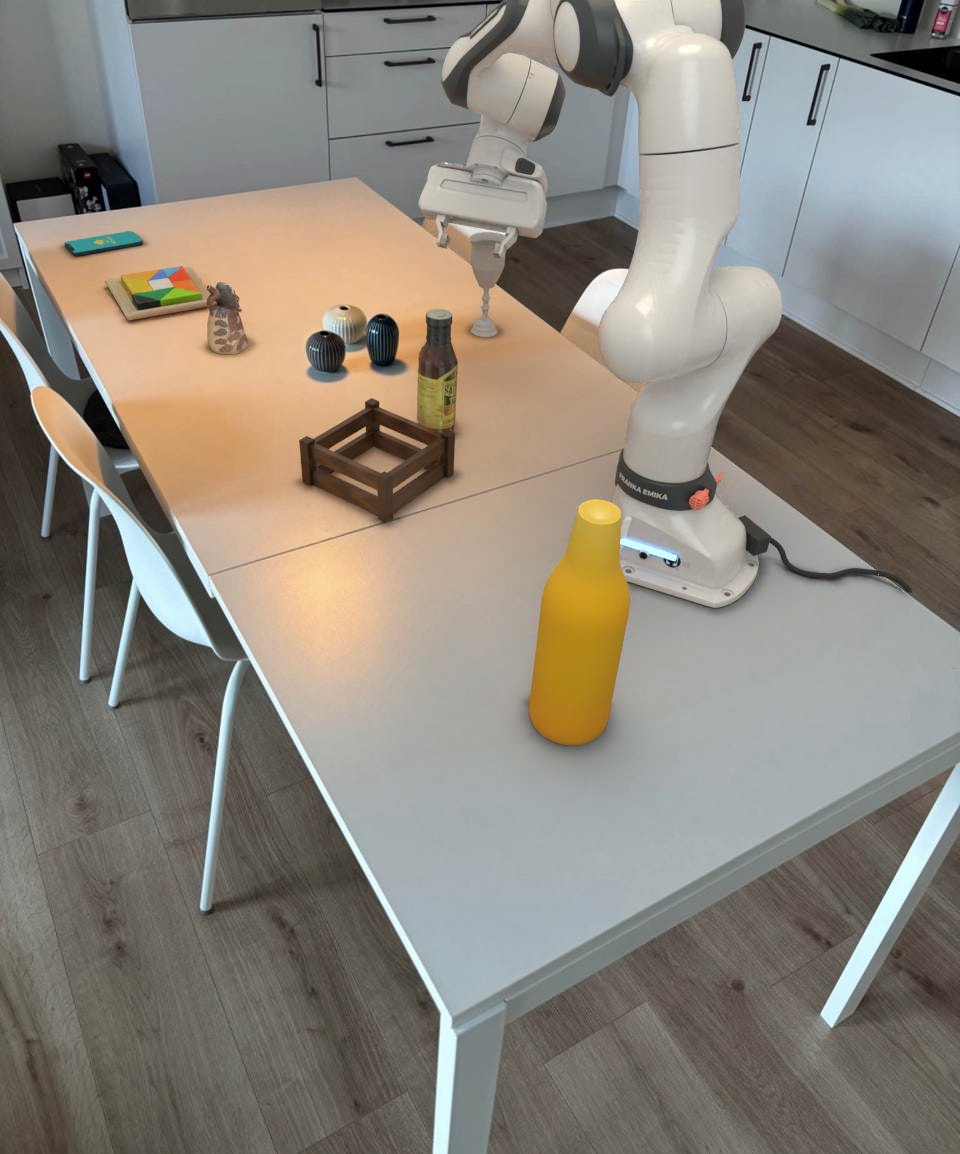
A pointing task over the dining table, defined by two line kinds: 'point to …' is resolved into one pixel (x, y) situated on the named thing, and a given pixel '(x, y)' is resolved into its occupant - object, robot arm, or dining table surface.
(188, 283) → the wooden puzzle
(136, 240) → the smartphone
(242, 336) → the figurine
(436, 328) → the sauce bottle
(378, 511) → the crate
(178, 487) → the dining table surface
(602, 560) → the beer bottle
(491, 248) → the chalice
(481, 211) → the robot arm
